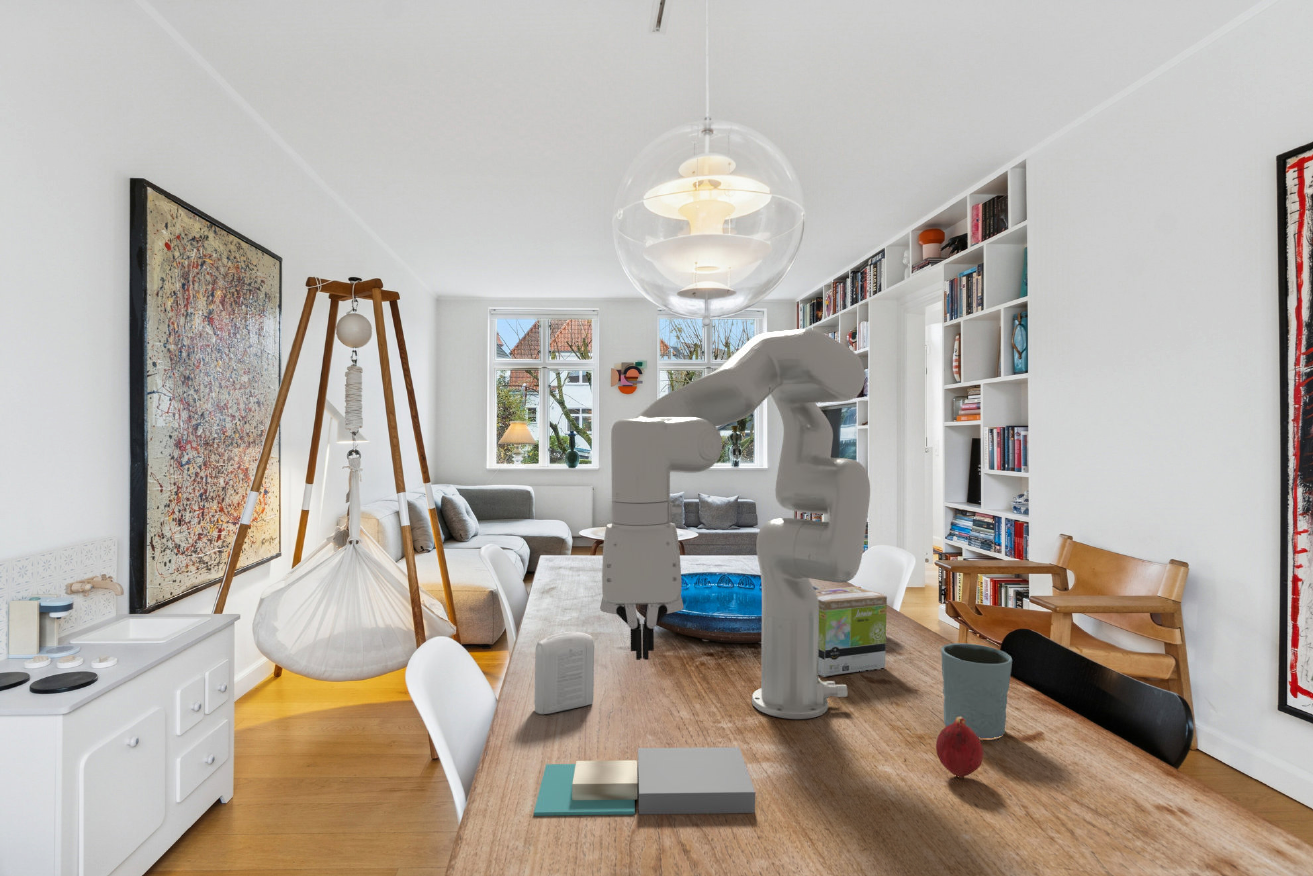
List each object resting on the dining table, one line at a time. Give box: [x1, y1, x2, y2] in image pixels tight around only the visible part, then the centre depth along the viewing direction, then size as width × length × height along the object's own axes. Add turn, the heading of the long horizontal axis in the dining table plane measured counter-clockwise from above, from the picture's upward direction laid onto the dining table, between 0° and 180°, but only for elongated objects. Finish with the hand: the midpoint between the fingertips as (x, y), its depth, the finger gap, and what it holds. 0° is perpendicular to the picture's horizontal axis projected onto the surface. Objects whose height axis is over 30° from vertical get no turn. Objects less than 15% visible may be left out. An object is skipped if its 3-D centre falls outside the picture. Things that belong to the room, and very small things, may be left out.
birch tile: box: [572, 759, 638, 800], centre depth 87 cm, size 8×6×2 cm
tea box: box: [815, 586, 888, 678], centre depth 136 cm, size 15×10×15 cm, turn 114°
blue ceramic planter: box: [940, 642, 1013, 738], centre depth 107 cm, size 10×10×12 cm
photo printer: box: [533, 631, 595, 716], centre depth 114 cm, size 10×4×12 cm, turn 123°
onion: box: [935, 716, 984, 778], centre depth 91 cm, size 6×6×8 cm
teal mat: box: [533, 763, 636, 817], centre depth 87 cm, size 12×12×1 cm
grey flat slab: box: [637, 746, 756, 815], centre depth 88 cm, size 14×12×2 cm
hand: (642, 656), depth 88 cm, fingers closed
